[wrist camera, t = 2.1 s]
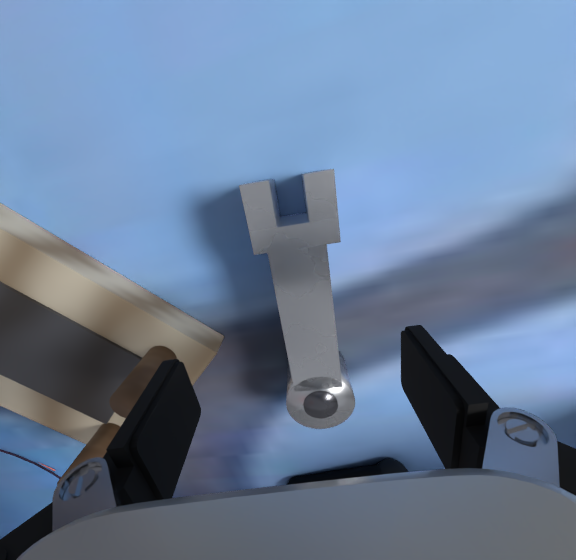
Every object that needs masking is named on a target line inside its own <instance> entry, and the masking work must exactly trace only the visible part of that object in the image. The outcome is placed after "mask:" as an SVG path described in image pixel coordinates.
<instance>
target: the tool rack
mask: <svg viewBox="0 0 576 560" xmlns="http://www.w3.org/2000/svg"><path fill="white" fill-rule="evenodd" d="M223 338H224V336H223V335H221V334H220V333H218V332H216V331H215V330H213V329H211V328H210V327H208V326H206V325H205V324H203V323H201V322H200V321H198V320H196V319H194V318H193V317H191V316H189V315H188V314H186V313H184V312H183V311H181V310H179V309H178V308H176V307H174V306H173V305H171V304H169V303H168V302H166V301H164V300H163V299H161V298H159V297H157V296H156V295H154V294H152V293H151V292H149V291H147V290H146V289H144V288H142V287H141V286H139V285H137V284H136V283H134V282H132V281H131V280H129V279H127V278H126V277H124V276H122V275H120V274H119V273H117V272H115V271H114V270H112V269H110V268H109V267H107V266H105V265H104V264H102V263H100V262H99V261H97V260H95V259H94V258H92V257H90V256H89V255H87V254H85V253H84V252H82V251H80V250H78V249H77V248H75V247H73V246H72V245H70V244H68V243H67V242H65V241H63V240H62V239H60V238H58V237H57V236H55V235H53V234H52V233H50V232H48V231H47V230H45V229H43V228H41V227H40V226H38V225H36V224H35V223H33V222H31V221H30V220H28V219H26V218H25V217H23V216H21V215H20V214H18V213H16V212H15V211H13V210H11V209H10V208H8V207H6V206H4V205H3V204H1V203H0V406H2V407H4V408H7V409H9V410H11V411H13V412H15V413H18V414H20V415H22V416H24V417H27V418H29V419H31V420H33V421H35V422H38V423H40V424H42V425H44V426H47V427H49V428H51V429H53V430H56V431H58V432H60V433H62V434H64V435H67V436H69V437H71V438H73V439H76V440H78V441H80V442H82V443H85V444H87V445H86V446H85V447H84V448H83V450H82V451H81V452H80V454H79V455H78V456H77V458H76V459H75V460H74V462H73V463H72V464H71V465H70V467H69V468H68V469H67V471H66V472H65V473H64V475H63V476H62V477H61V478H60V480H59V481H58V483H57V486H58V484H59V483H60V481H61V480H62V479H63V478H64V476H65V475H66V474H68V473H69V472H70V471H71V470H72V469H73V468H75V467H76V466H77V465H79V464H80V463H82V462H84V461H86V460H88V459H91V458H94V457H101V458H103V457H104V455H105V454H106V452H107V450H106V449H107V447H108V446H109V444H110V443H111V441H112V439H113V438H114V436H115V435H116V433H117V432H118V430H119V428H120V427H121V425H122V424H123V422H124V421H125V419H126V418H127V416H128V414H129V413H130V411H131V410H132V408H133V407H134V405H135V403H136V402H137V400H138V399H139V397H140V396H141V394H142V393H143V391H144V389H145V388H146V386H147V385H148V383H149V382H150V380H151V378H152V377H153V375H154V374H155V372H156V371H157V369H158V368H159V366H160V364H161V363H162V362H163V361H165V360H172V359H178V360H179V361H180V362H183V363H184V366H185V368H186V371H187V373H188V376H189V379H190V381H191V384H192V386H193V384H194V383H195V382H196V380H197V379H198V378H199V376H200V375H201V374H202V372H203V371H204V370H205V368H206V367H207V366H208V364H209V363H210V362H211V361H212V359H213V358H214V357H215V355H216V354H217V352H218V350H219V348H220V345H221V343H222V341H223Z"/></svg>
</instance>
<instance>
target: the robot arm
mask: <svg viewBox="0 0 576 560" xmlns="http://www.w3.org/2000/svg"><path fill="white" fill-rule="evenodd" d="M401 384H402V387H403V390H404V392H405V394H406V396H407V398H408V399H409V401H410V403H411V405H412V407H413V409H414V411H415V413H416V414H417V416H418V418H419V420H420V422H421V424H422V426H423V427H424V429H425V431H426V433H427V435H428V437H429V439H430V441H431V442H432V444H433V446H434V448H435V450H436V452H437V454H438V456H439V457H440V459H441V461H442V463H443V465H444V467H445V468H446V469H438V470H426V471H415V472H403V473H393V474H383V475H374V476H364V477H355V478H345V479H336V480H326V481H317V482H308V483H299V484H290V485H281V486H272V487H263V488H255V489H246V490H237V491H229V492H220V493H212V494H203V495H195V496H186V497H178V498H172V496H173V493H174V491H175V488H176V485H177V482H178V479H179V476H180V473H181V470H182V467H183V464H184V462H185V459H186V456H187V453H188V450H189V447H190V444H191V441H192V438H193V436H194V433H195V430H196V427H197V424H198V421H199V418H200V415H201V408H200V405H199V402H198V399H197V397H196V394H195V392H194V389H193V386H192V384H191V381H190V379H189V376H188V373H187V371H186V368H185V366H184V363H183V362H180V361H179V360H178V359H172V360H165V361H163V362H162V363H161V364H160V366H159V368H158V369H157V371H156V372H155V374H154V375H153V377H152V378H151V380H150V382H149V383H148V385H147V386H146V388H145V389H144V391H143V393H142V394H141V396H140V397H139V399H138V400H137V402H136V403H135V405H134V407H133V408H132V410H131V411H130V413H129V414H128V416H127V418H126V419H125V421H124V422H123V424H122V425H121V427H120V428H119V430H118V432H117V433H116V435H115V436H114V438H113V439H112V441H111V443H110V444H109V446H108V447H107V449H106V450H107V452H106V454H105V455H104V457H103V458H101V457H94V458H91V459H88V460H86V461H84V462H82V463H80V464H79V465H77V466H76V467H75V468H73V469H72V470H71V471H70V472H69V473H68V474H66V475H65V476H64V478H63V479H62V480H61V481H60V483H59V484H58V486H57V487H56V489H55V491H54V495H53V502H52V503H51V504H49V505H48V506H46V507H45V508H44V509H42V510H41V511H40V512H38V513H37V514H35V515H34V516H33V517H31V518H30V519H28V520H27V521H26V522H24V523H23V524H21V525H20V526H19V527H17V528H16V529H14V530H13V531H12V532H10V533H9V534H7V535H6V536H5V537H3V538H2V539H1V540H0V560H576V449H575V448H572V447H570V446H568V445H565V444H563V443H560V442H558V441H557V439H556V435H555V433H554V432H553V430H552V429H551V428H550V427H549V426H548V425H547V424H546V423H545V422H544V421H543V420H541V419H540V418H538V417H536V416H535V415H533V414H531V413H528V412H526V411H524V410H520V409H516V408H499V406H498V405H497V404H496V403H495V402H494V401H493V400H492V399H491V398H490V396H489V395H488V394H487V393H486V392H485V391H484V390H483V389H482V387H481V386H480V385H479V384H478V383H477V382H476V381H475V380H474V379H473V377H472V376H471V375H470V374H469V373H468V372H467V371H466V370H465V369H464V367H463V366H462V365H461V364H460V363H459V362H458V361H457V360H456V359H455V358H454V357H453V356H452V355H450V354H448V355H447V354H446V353H445V352H444V351H443V349H442V348H441V347H440V346H439V345H438V344H437V343H436V341H435V340H434V339H433V338H432V337H431V336H430V335H429V333H428V332H427V331H426V330H425V329H424V328H423V327H422V326H421V325H415V326H408V327H406V328H405V331H402V332H401Z"/></svg>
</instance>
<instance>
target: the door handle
mask: <svg viewBox="0 0 576 560" xmlns="http://www.w3.org/2000/svg"><path fill="white" fill-rule="evenodd" d="M403 472H408V471H407V469H406V468H405V466H404V465H403V464H402V463H400V462H399V461H397V460H395V459H390V458H388V459H384V460H382V461H380V462H379V463H378V465H371V466H364V467H357V468H350V469H343V470H336V471H329V472H322V473H316V474H309V475H303V476H296V477H292V478H291V479H290V480H289V482H288V484H287V485H290V484H299V483H308V482H317V481H326V480H336V479H345V478H355V477H364V476H374V475H383V474H393V473H403Z"/></svg>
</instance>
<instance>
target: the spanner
mask: <svg viewBox="0 0 576 560" xmlns="http://www.w3.org/2000/svg"><path fill="white" fill-rule="evenodd" d="M301 175H302V182H303V190H304V197H305V205H306V212H305V213H299V214H292V215H286V216H280V210H279V204H278V198H277V192H276V186H275V180H274V179H269V180H263V181H257V182H252V183H247V184H243V185H239V187H240V192H241V197H242V201H243V206H244V211H245V215H246V220H247V225H248V229H249V234H250V238H251V243H252V248H253V252H254V255H257V254H264V253H268V258H269V263H270V268H271V273H272V279H273V284H274V289H275V294H276V299H277V304H278V309H279V314H280V320H281V325H282V330H283V335H284V340H285V345H286V350H287V355H288V373H287V400H286V405H287V410H288V412H289V414H290V416H291V417H292V418H293V419H294V420H295V421H296V422H298V423H299V424H301V425H303V426H306V427H310V428H315V429H325V428H330V427H334V426H337V425H339V424H341V423H342V422H344V421H345V420H346V419H348V418H349V416H350V415H351V414H352V412H353V410H354V407H355V398H354V394H353V390H352V386H351V383H350V379H349V375H348V371H347V367H346V364H345V360H344V357H343V355H342V354H341V353H340V351H339V350H338V344H337V335H336V326H335V317H334V308H333V299H332V289H331V280H330V271H329V262H328V253H327V244H331V243H338V242H340V231H339V220H338V209H337V198H336V187H335V176H334V169H329V170H321V171H315V172H310V173H304V174H301Z"/></svg>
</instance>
